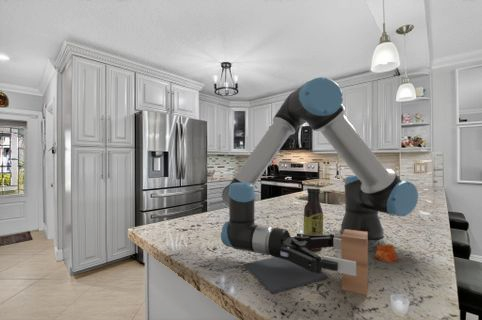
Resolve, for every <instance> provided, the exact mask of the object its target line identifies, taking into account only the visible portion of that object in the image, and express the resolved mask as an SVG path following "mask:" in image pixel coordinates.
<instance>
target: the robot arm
mask: <svg viewBox="0 0 482 320" xmlns="http://www.w3.org/2000/svg"><path fill="white" fill-rule="evenodd" d="M343 100H344V99H343V91H342V89H341V87H340V85H339V84H338V83H337V82H336V81H334V80H333V79H331V78H328V77H321V76H320V77H315V78H313V79H311V80H307V82H305V83H303V84H302V85H301V86H300V87H298V88H297V89H296V90H294V91H292V92H291V93H290V94H289V95H288V96H287V97H286V98H285V99H284V101H283V103H282V105H281V106H280V107H279V108H278V110H277V112H276V114H274V116H273V118H272V124H271V126H269V128H268V129H267V131H266V132H265V134H264V135H263V136H262V138H261V139H260V141H259V142H258V143H257V145H256V146H255V148H254V149H253V150H252V152H251V153H250V154H249V156H248V157H247V158H246V160H245V161H244V163H243V165H241V168H239V170H238V172H237V173H236V174H235V175H234V177H233V179H232V180H231V181H230V182H229V184H228V185H225V186H224V187H223V189H222V191H221V198H222V201H223V203H224V204H225V205H226V206H227V207H228V211H229V212H228V214H229V219H228V221H225V223H223V225H222V227H221V232H220V240H221V243H222V244H223V245H224V246H226V247H229V248H233V249H235V250H241V251H246V252H250V253H254V254H259V255H260V256H263V257H264V256H271V257H272V258H274V257H277V258H281V259H285V260H288V261H290V262H292V263H294V264H297V265H299V266H301V267H303V268H305V269H307V270H309V271H311V272H313V273H315V272H316V273H322V272H323V271H322V270H326V271H330V272H336V273H338V274H339V273H340V274H342V273H343V274H348V275H352V276H356V261H351V260H346V259H342V258H339V257H335V256H334V257H333V256H329V255H322V256H320V255H318V254H316V253H315V252H314V251H313V250H311V249H312V248H322V249H323V248H333V249H334V250H339V251H341V238H338V237H337V238H336V237H335V234H334V233H330V234H325V233H323V234H304V233H299V232H298V233H296V235H295V236H291V234H290V232H289V230H288V229H286V228H280V227H273V226H268V225H260V224H256V223H255V222H256V221H255V219H256V218H255V215H256V214H255V211H256V210H255V204H256V203H255V198H256V197H255V196H256V193H255V186H256V184H257V183H258V181H259V180H260V179H261V177H262V176H263V175H264V172H266V170H267V168H268V167H269V166H270V164H271V162H272V161H273V160H274V158H275V157H276V156H277V154H278V153H279V151H280V150H281V148H282V147H283V146H284V144H285V143H286V142H287V140H288V139H289V137H290V136H291V135H294V134H295V133H296V132H297V130H298V129H299V128H300V127H301V126H302V125H304V124H305V123H307V124H308V126H309V127H310V128H311V130H313V132H314V131H315V132H320V134H322V135H323V136H324V138H325V139H326V141H328V143H329V144H330V146H332V148H333V150H335V151H336V153H337V154H338V156H340V158H341V159H342V160H343V162H344V163H345V164H346V166H347V167H349V169H350V170H351V171H352V173H353V174H354V175H350V176H349V175H348V176H345V181H344V202H345V203H344V207H345V209H344V211H345V212H344V215H343V219H342V222H341V225H340V231H341V233H343V231H344V229H348V230H356V231H364V232H368V240H373V239H374V240H375V239H382V238H384V228H383V225H382V223H381V219H380V216H379V213H383V214H387V215H388V216H392V217H406V216H408V215H410V214H411V213H412V212H413V211H414V210H415V208H416V207H417V205H418V199H419V192H418V189H417V187H416V185H415V184H414V183H412V182H411V181H408V180H401V178H400V177H399V176H398V175H397V174H396V172H395V171H394V170H392V169H390V168H385V166H384V164H383V163H382V162H381V161H380V159H379V158H378V157H377V156H376V154H375V153H374V152H373V150H372V149H371V147H369V146H368V144H367V143H366V142H365V141H364V139H363V138H362V137H361V135H360V134H359V133H358V131H357V130H356V129H355V127H354V126H353V125H352V123H351V122H350V121H349V120H348V118H347V117H346V116H345V115H344V113H345V106H344V104H343ZM309 265H310V266H309Z"/></svg>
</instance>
